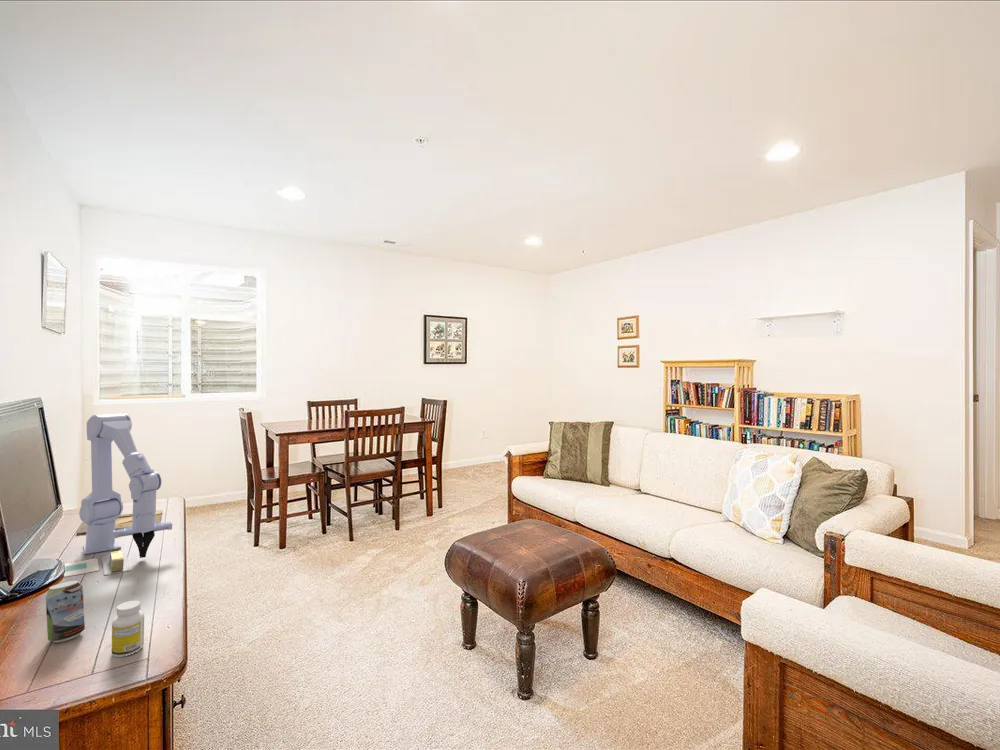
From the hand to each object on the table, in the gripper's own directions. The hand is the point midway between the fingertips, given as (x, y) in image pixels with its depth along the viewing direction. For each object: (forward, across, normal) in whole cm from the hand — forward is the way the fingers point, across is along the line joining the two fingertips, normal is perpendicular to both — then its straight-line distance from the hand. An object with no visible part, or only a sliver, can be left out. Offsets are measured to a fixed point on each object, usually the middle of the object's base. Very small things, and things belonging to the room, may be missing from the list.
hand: (142, 556), depth 147 cm
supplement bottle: (+1, -7, -55) cm, 56 cm away
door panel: (+1, -11, +1) cm, 11 cm away
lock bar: (+1, -6, -2) cm, 7 cm away
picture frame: (+2, -2, +46) cm, 46 cm away
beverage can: (+1, -17, -41) cm, 45 cm away
